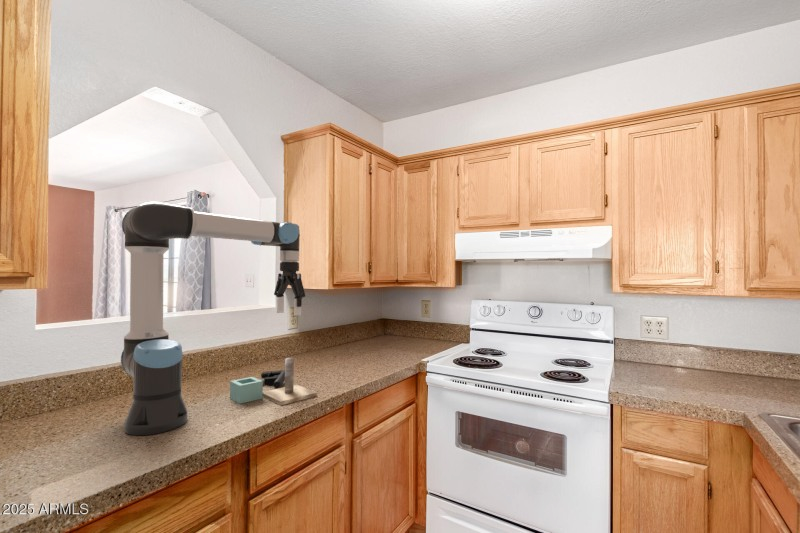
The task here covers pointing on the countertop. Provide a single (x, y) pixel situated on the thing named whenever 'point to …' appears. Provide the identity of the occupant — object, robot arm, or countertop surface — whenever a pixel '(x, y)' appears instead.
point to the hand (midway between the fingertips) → (288, 314)
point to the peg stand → (289, 388)
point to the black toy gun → (273, 378)
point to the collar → (246, 389)
